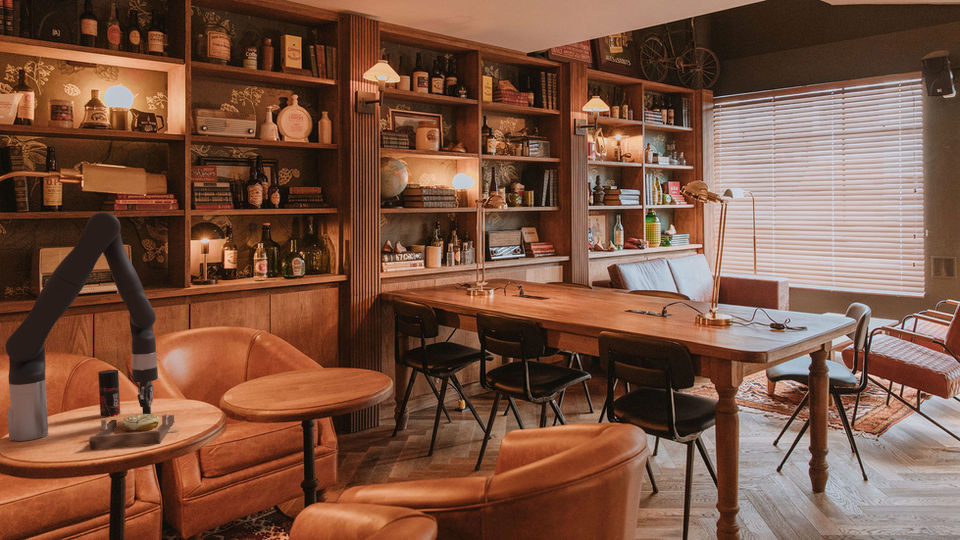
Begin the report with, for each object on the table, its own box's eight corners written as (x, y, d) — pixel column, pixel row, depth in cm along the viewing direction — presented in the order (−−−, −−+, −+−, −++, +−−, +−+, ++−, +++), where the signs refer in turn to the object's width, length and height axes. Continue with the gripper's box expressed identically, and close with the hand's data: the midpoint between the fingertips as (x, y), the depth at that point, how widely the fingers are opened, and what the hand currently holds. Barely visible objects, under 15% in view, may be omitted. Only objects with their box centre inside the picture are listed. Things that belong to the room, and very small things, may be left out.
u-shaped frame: (78, 450, 188) (77, 431, 188) (101, 428, 210) (100, 411, 209) (171, 442, 195) (170, 424, 194) (184, 421, 216) (183, 405, 216)
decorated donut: (133, 435, 203) (132, 423, 202) (116, 429, 209) (115, 418, 208) (165, 426, 211) (165, 415, 211) (148, 421, 217) (147, 410, 217)
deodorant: (107, 412, 229) (105, 369, 228) (123, 412, 228) (121, 369, 227) (96, 417, 223) (94, 373, 222) (113, 417, 222) (111, 373, 222)
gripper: (136, 363, 223) (139, 413, 224) (127, 371, 210) (129, 424, 211) (161, 361, 225) (163, 411, 226) (152, 369, 212) (155, 422, 213)
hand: (147, 417), depth 218 cm, fingers closed
